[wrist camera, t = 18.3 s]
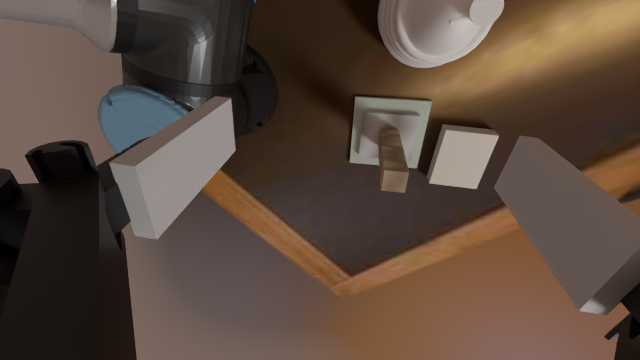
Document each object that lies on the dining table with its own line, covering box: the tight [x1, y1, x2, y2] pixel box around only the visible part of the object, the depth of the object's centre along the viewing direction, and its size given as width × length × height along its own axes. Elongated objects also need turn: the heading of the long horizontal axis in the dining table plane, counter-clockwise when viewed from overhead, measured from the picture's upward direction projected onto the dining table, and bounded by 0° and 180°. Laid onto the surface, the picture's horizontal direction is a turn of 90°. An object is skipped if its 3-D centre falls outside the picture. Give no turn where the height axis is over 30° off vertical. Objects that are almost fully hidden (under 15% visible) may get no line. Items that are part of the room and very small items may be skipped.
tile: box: [427, 124, 499, 189], centre depth 48 cm, size 3×10×8 cm
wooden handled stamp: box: [359, 111, 420, 193], centre depth 42 cm, size 9×8×15 cm
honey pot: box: [377, 0, 504, 68], centre depth 32 cm, size 13×13×18 cm
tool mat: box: [350, 96, 432, 168], centre depth 49 cm, size 12×12×1 cm
